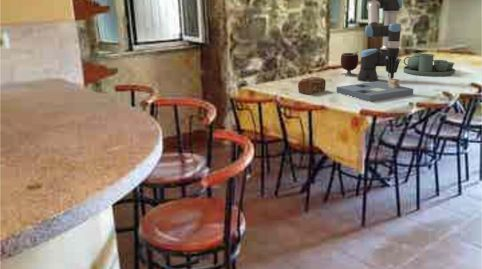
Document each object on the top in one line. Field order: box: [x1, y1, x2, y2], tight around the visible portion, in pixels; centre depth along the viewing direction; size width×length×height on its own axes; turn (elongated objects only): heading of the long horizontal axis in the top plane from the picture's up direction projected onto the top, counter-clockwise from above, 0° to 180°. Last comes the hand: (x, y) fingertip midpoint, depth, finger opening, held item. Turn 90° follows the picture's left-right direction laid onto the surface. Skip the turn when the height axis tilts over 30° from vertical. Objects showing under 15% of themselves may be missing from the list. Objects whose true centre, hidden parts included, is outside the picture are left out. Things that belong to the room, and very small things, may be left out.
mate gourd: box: [340, 51, 359, 77], centre depth 385 cm, size 16×14×20 cm
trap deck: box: [336, 80, 414, 102], centre depth 319 cm, size 38×32×4 cm
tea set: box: [403, 51, 456, 77], centre depth 393 cm, size 40×40×16 cm
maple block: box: [387, 78, 401, 88], centre depth 320 cm, size 5×5×5 cm
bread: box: [297, 76, 327, 95], centre depth 328 cm, size 19×11×10 cm, turn 133°
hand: (390, 82), depth 322 cm, fingers closed
